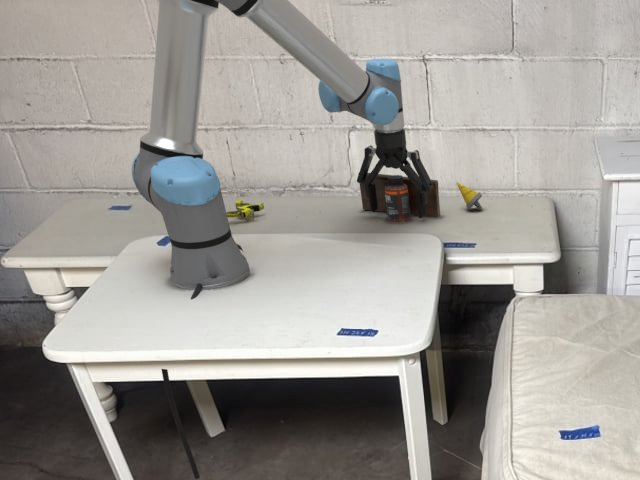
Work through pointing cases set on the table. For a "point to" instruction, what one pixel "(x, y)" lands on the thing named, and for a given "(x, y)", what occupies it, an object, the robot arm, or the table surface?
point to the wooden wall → (432, 196)
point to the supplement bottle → (397, 199)
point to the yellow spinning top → (470, 196)
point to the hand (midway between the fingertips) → (398, 213)
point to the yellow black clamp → (245, 209)
